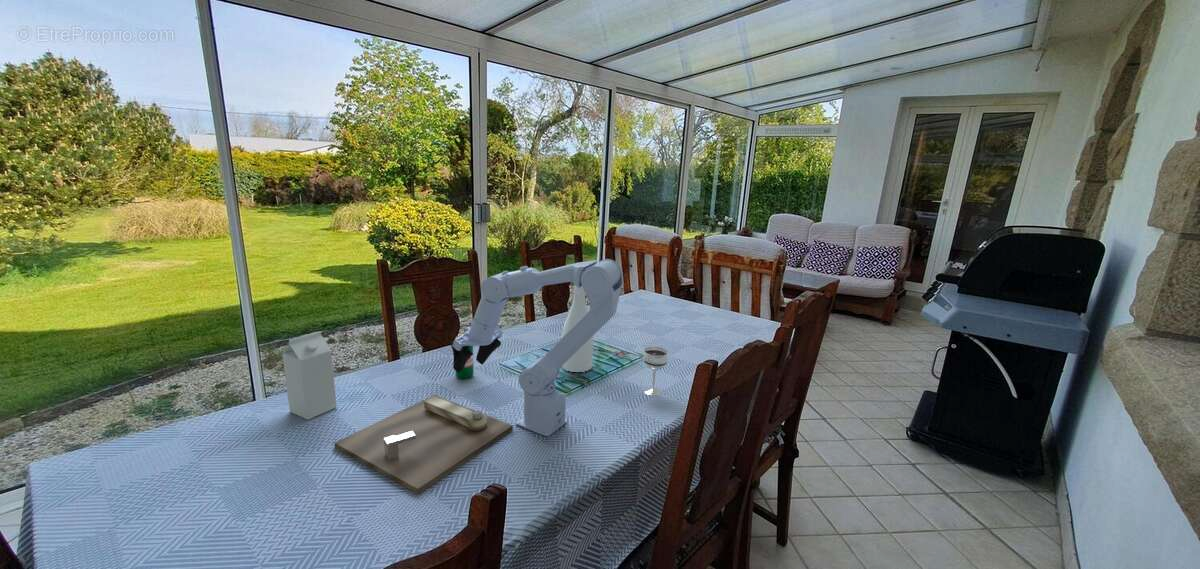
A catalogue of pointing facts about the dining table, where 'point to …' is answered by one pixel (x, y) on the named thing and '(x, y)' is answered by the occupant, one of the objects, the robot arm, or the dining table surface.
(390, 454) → the block
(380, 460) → the base board
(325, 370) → the milk carton
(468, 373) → the soda can
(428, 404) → the swing bar
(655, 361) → the wineglass
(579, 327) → the robot arm
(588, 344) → the wine bottle
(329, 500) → the dining table surface
